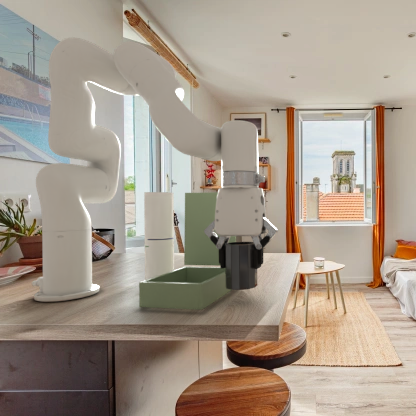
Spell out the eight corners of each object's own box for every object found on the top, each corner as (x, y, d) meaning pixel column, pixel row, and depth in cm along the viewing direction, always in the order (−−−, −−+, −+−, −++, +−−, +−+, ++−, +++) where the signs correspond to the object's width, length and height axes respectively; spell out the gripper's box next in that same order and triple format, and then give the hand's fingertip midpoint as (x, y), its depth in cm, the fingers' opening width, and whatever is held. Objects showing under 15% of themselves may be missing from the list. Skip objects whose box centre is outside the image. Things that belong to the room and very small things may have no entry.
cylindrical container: (162, 288, 84) (162, 191, 84) (138, 287, 85) (138, 192, 85) (179, 282, 91) (178, 193, 91) (156, 281, 92) (156, 193, 92)
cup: (220, 289, 65) (219, 244, 65) (232, 282, 72) (232, 241, 72) (251, 290, 64) (250, 245, 64) (260, 282, 71) (260, 241, 71)
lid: (235, 192, 82) (236, 192, 82) (184, 192, 84) (186, 193, 84) (234, 265, 81) (236, 265, 82) (184, 264, 83) (185, 264, 84)
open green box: (202, 313, 64) (201, 284, 64) (139, 310, 66) (139, 282, 66) (235, 290, 82) (235, 267, 82) (185, 288, 84) (184, 266, 84)
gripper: (284, 182, 70) (285, 265, 70) (209, 184, 73) (210, 263, 73) (275, 179, 63) (277, 271, 63) (192, 181, 65) (193, 270, 65)
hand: (241, 266), depth 68 cm, fingers closed on cup, 6 cm apart
